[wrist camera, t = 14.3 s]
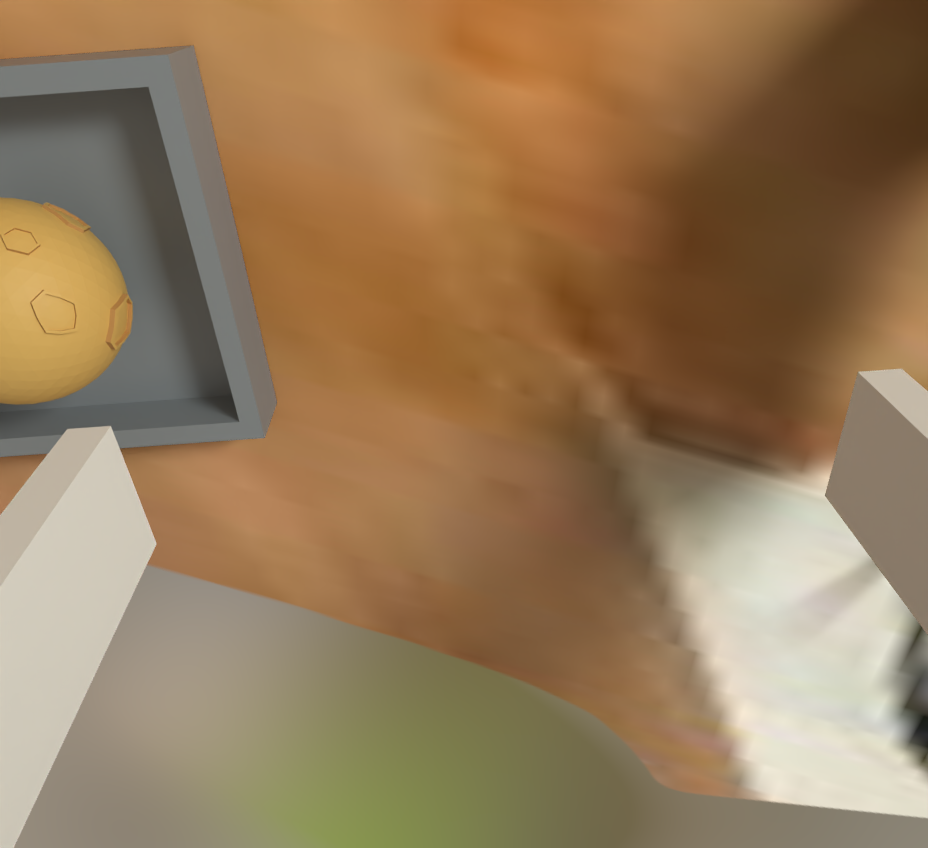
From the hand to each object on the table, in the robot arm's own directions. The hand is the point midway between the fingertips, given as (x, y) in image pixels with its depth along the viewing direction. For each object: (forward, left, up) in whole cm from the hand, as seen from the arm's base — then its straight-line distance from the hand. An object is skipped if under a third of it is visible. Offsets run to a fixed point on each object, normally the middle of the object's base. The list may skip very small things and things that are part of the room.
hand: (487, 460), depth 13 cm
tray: (+22, +5, -29) cm, 37 cm away
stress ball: (+21, +5, -28) cm, 36 cm away
